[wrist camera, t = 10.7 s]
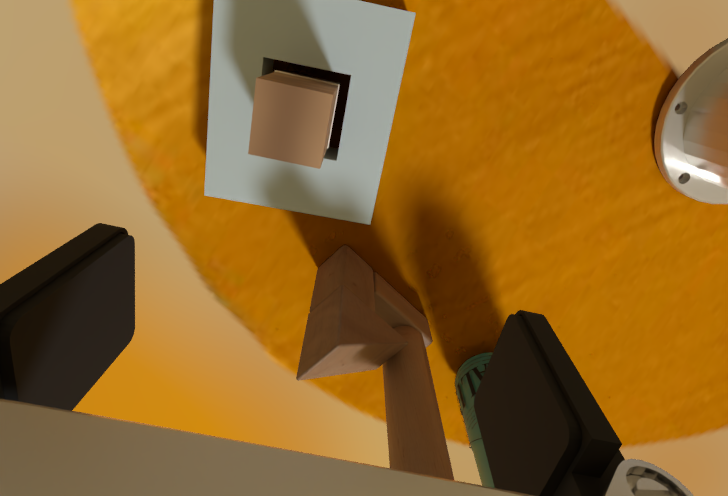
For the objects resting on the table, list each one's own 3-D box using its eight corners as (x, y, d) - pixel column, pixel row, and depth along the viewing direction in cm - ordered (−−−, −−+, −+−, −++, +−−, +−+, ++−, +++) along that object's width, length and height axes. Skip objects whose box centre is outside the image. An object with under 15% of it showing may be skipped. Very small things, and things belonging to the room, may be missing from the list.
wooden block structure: (345, 241, 37) (333, 393, 21) (428, 318, 41) (474, 501, 24) (315, 268, 38) (282, 433, 22) (398, 341, 42) (424, 532, 25)
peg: (342, 80, 32) (334, 93, 23) (331, 137, 34) (321, 170, 25) (285, 67, 32) (254, 75, 23) (277, 125, 33) (246, 155, 24)
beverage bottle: (506, 396, 45) (607, 638, 26) (441, 389, 44) (499, 630, 26) (525, 343, 42) (652, 572, 24) (456, 335, 41) (532, 561, 23)
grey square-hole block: (409, 17, 30) (415, 12, 27) (369, 206, 36) (370, 224, 32) (233, -22, 29) (215, -32, 26) (220, 179, 35) (204, 195, 31)
